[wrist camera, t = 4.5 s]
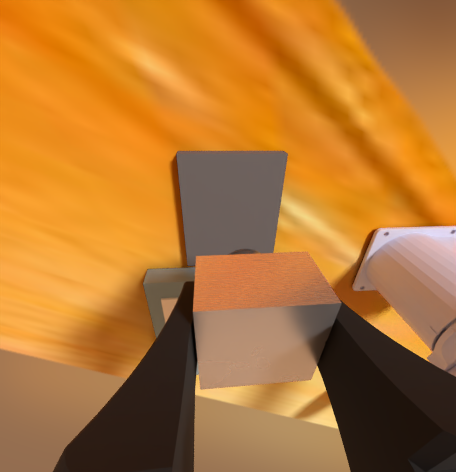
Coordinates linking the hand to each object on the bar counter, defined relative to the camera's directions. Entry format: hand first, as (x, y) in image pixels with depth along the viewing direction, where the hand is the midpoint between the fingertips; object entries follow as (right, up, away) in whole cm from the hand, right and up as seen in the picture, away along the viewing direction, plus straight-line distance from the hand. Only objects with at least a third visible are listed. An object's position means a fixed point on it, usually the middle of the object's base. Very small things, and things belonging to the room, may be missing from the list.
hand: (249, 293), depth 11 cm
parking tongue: (-1, +5, +8) cm, 10 cm away
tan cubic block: (0, +1, +2) cm, 2 cm away
